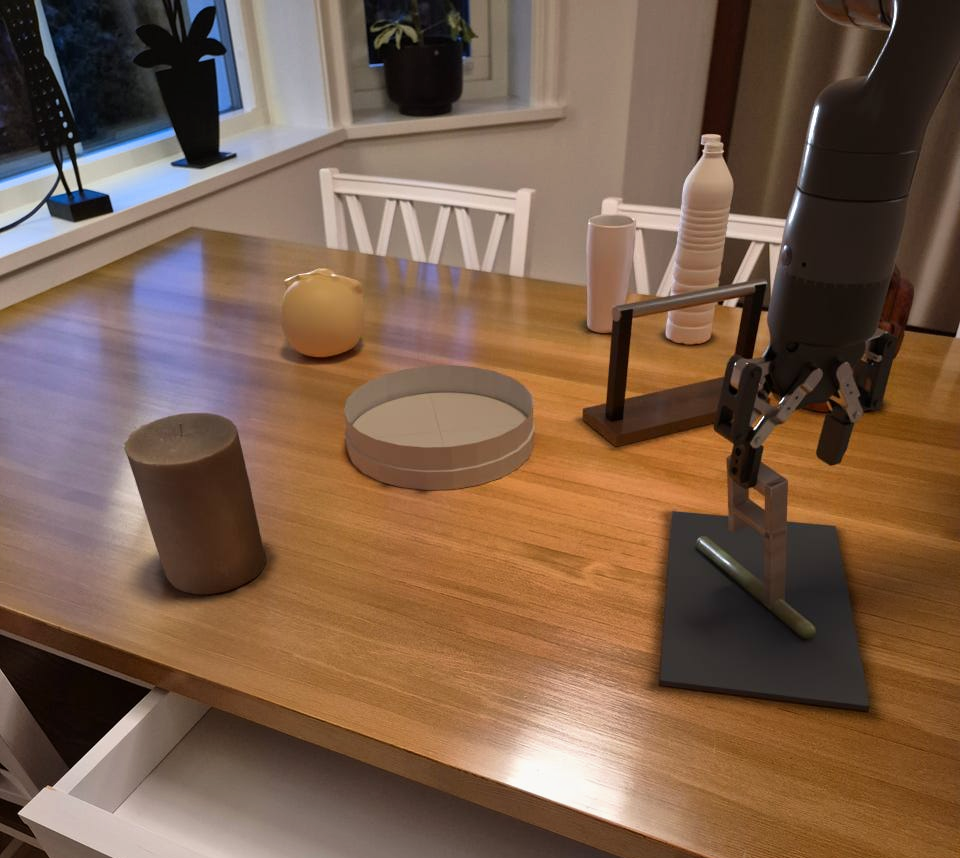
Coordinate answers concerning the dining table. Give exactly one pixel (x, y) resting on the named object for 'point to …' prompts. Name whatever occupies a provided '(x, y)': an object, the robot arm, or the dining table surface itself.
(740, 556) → the mat
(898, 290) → the wooden figurine
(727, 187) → the water bottle
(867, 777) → the dining table surface
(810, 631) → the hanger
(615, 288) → the drinking glass
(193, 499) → the pillar candle
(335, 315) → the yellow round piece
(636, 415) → the rail stand
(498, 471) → the dish
